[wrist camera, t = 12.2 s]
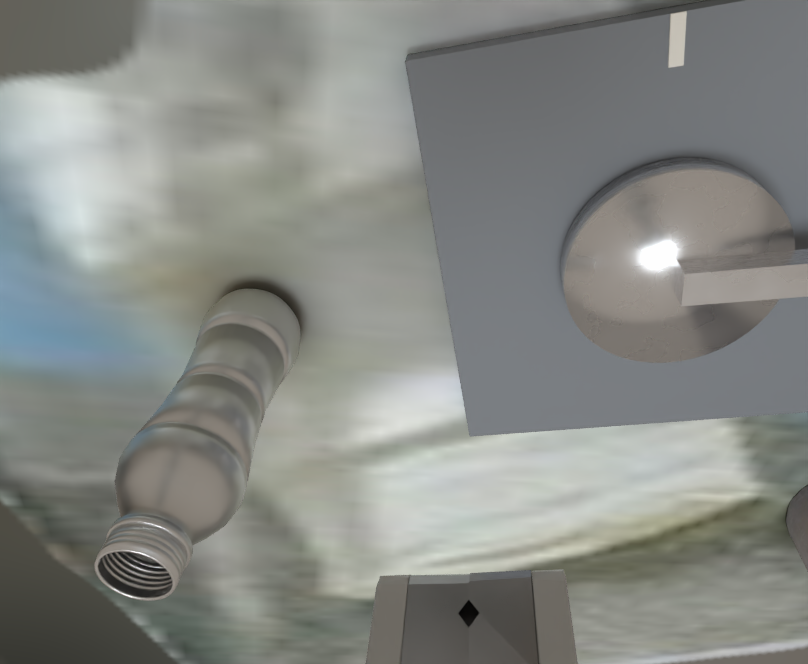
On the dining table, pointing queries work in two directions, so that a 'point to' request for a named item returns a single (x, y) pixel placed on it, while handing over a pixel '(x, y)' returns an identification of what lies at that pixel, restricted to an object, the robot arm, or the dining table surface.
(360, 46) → the dining table surface
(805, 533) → the pillar candle
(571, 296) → the dial
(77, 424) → the dining table surface
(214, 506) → the plastic bottle
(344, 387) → the dining table surface
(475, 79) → the dial plate
